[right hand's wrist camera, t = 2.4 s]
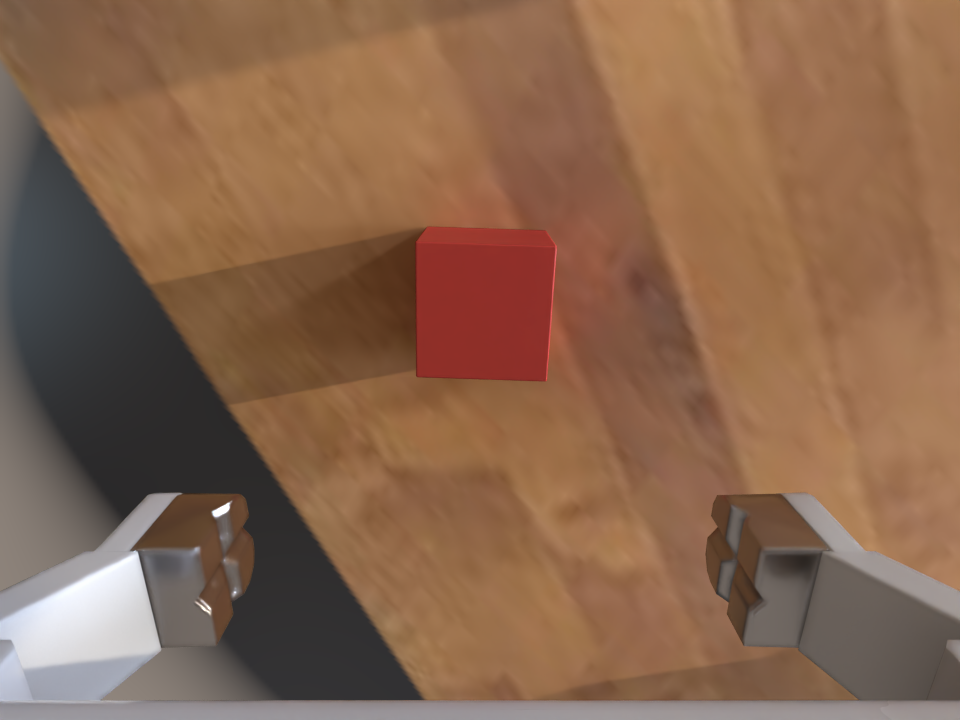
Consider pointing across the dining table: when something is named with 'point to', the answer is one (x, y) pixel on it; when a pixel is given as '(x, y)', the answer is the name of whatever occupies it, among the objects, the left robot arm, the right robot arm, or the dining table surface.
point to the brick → (484, 303)
